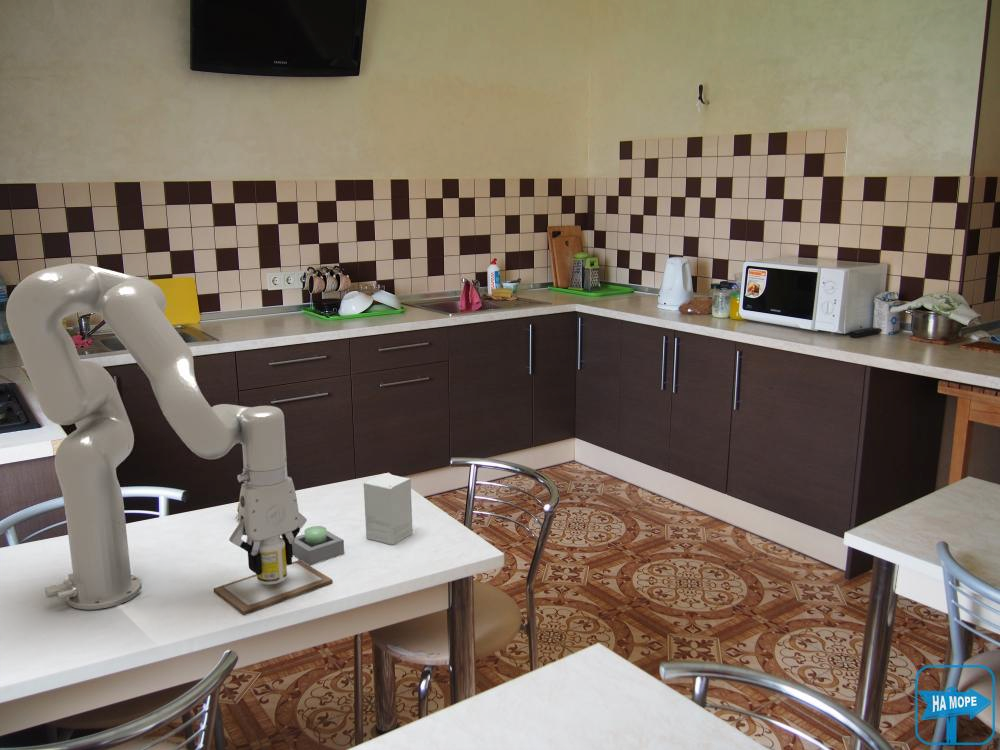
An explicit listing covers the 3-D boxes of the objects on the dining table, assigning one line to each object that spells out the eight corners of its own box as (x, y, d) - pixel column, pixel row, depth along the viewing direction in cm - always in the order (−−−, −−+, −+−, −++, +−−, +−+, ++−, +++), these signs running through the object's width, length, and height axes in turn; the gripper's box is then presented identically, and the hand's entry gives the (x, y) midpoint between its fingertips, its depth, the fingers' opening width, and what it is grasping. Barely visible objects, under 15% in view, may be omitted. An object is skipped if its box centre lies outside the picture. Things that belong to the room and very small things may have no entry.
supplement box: (413, 533, 185) (412, 478, 182) (391, 546, 179) (389, 488, 176) (387, 526, 189) (385, 472, 186) (364, 538, 183) (362, 482, 180)
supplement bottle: (275, 569, 164) (272, 521, 162) (293, 578, 160) (290, 528, 158) (251, 579, 160) (248, 530, 157) (268, 588, 156) (265, 537, 154)
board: (243, 615, 150) (243, 610, 150) (213, 592, 159) (213, 587, 158) (332, 583, 162) (332, 578, 162) (300, 563, 171) (299, 558, 170)
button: (312, 545, 172) (311, 536, 171) (300, 539, 175) (300, 530, 174) (331, 539, 175) (330, 530, 174) (319, 533, 178) (319, 524, 177)
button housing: (309, 565, 170) (308, 551, 169) (289, 552, 176) (288, 539, 175) (344, 553, 175) (343, 539, 174) (323, 541, 181) (322, 528, 180)
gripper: (230, 491, 147) (237, 588, 151) (318, 469, 158) (322, 560, 162) (211, 480, 152) (218, 574, 156) (297, 459, 164) (301, 548, 168)
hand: (271, 566), depth 159 cm, fingers closed on supplement bottle, 5 cm apart
